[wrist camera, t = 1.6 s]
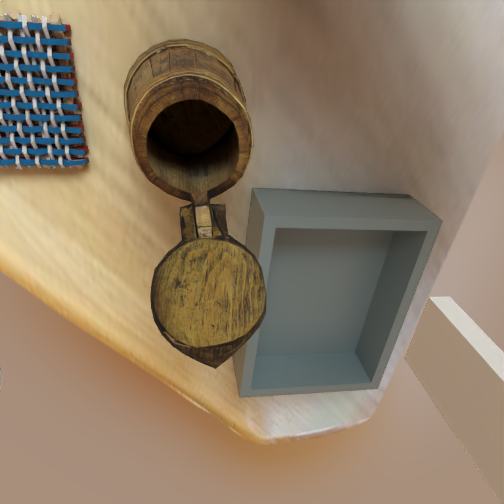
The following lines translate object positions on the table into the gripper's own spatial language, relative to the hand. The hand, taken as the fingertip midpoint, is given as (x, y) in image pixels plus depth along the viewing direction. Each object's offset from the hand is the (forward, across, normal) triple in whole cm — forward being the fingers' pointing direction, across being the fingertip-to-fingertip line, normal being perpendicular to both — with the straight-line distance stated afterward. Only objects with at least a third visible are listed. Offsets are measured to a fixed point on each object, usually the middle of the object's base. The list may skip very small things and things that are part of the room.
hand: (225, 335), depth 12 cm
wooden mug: (+23, 0, 0) cm, 23 cm away
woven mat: (+23, -13, +2) cm, 27 cm away
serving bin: (+22, +12, -14) cm, 29 cm away
